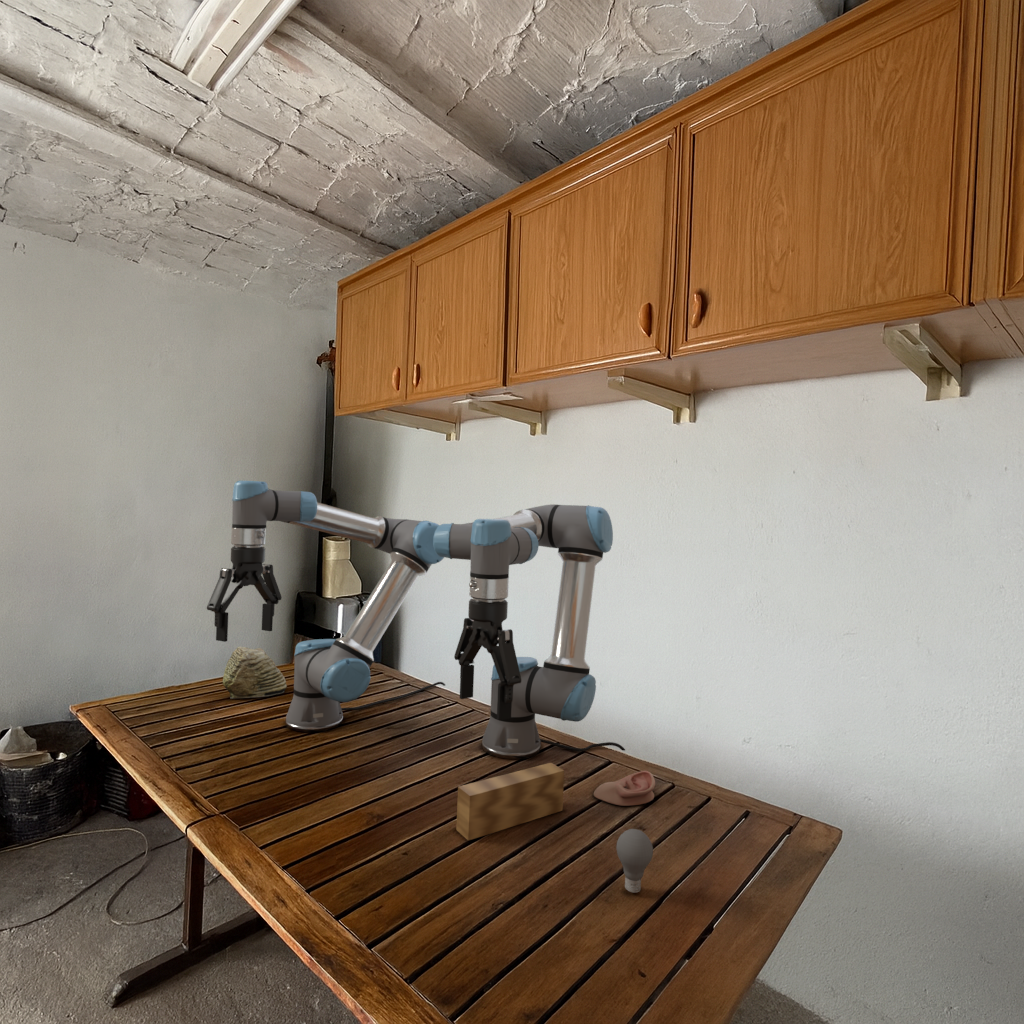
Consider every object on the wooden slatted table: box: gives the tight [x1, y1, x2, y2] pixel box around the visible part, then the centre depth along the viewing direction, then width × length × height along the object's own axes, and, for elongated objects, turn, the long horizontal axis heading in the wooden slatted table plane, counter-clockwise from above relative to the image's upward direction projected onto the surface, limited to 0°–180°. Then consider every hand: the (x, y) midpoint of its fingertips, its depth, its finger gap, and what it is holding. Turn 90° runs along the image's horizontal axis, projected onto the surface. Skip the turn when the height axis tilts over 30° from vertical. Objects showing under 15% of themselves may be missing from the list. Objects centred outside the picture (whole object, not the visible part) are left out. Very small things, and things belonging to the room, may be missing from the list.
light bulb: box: [615, 828, 654, 894], centre depth 106 cm, size 6×6×10 cm
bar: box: [455, 762, 565, 841], centre depth 127 cm, size 23×4×8 cm, turn 125°
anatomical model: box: [593, 770, 656, 807], centre depth 141 cm, size 13×4×12 cm
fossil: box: [222, 646, 288, 699], centre depth 198 cm, size 9×18×15 cm, turn 132°
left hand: (245, 635), depth 150 cm, fingers open, 13 cm apart
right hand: (484, 707), depth 123 cm, fingers open, 13 cm apart
